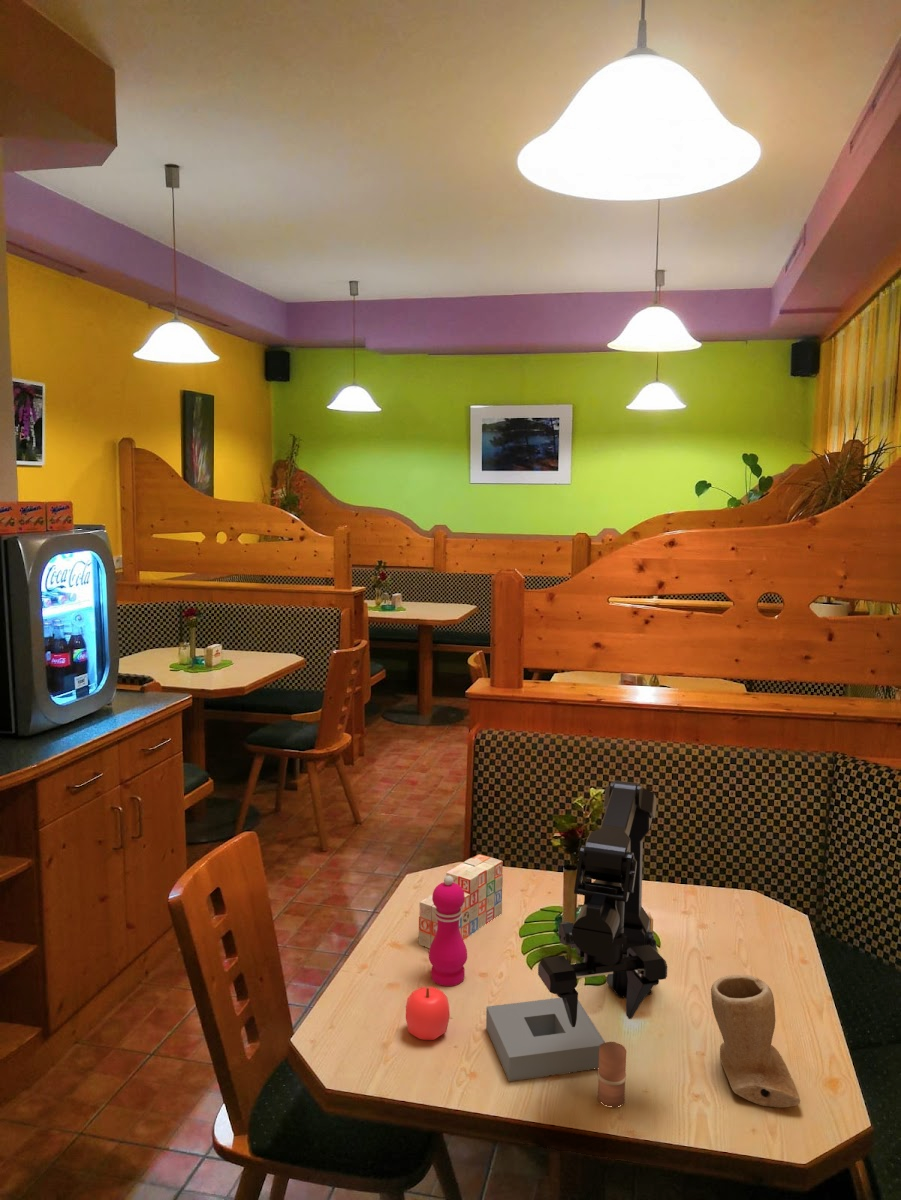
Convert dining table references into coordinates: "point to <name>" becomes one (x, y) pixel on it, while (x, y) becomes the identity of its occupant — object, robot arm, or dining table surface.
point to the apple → (427, 1013)
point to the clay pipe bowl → (751, 1041)
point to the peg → (612, 1074)
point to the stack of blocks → (468, 898)
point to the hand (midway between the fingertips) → (600, 1021)
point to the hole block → (542, 1039)
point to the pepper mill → (448, 935)
